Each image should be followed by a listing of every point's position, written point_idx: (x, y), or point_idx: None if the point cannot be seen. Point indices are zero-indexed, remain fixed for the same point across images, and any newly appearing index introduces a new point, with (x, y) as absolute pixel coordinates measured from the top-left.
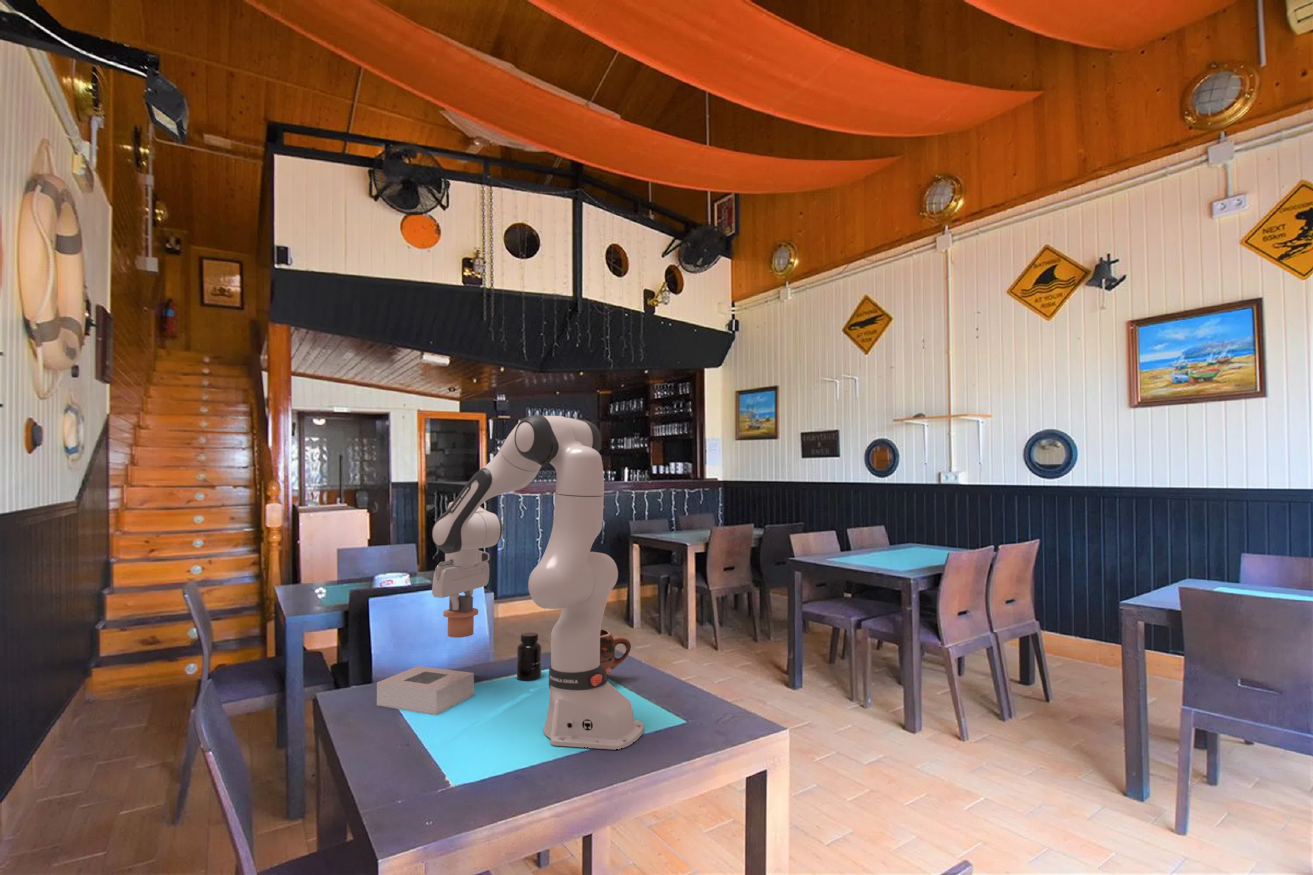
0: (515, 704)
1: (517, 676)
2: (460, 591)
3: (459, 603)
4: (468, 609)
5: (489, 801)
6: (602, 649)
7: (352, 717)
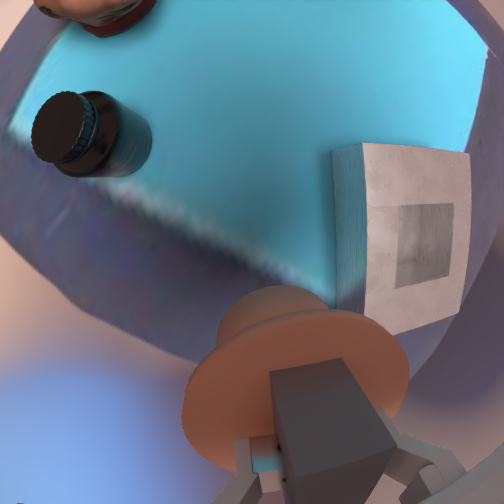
0: (302, 52)
1: (145, 158)
2: (459, 491)
3: None
4: (334, 375)
5: (477, 12)
6: None
7: None
